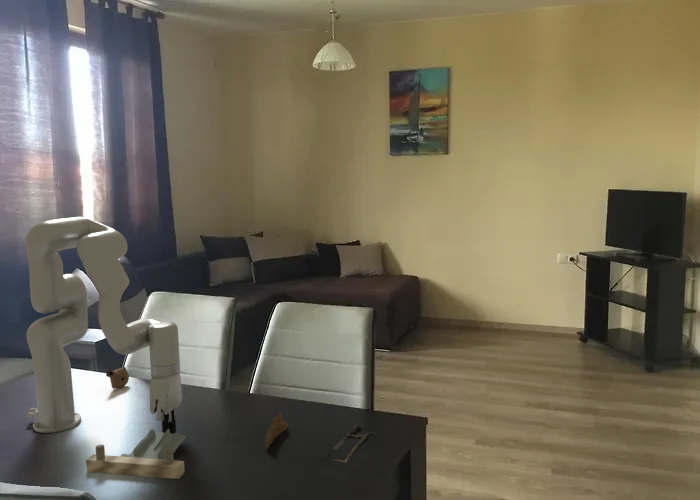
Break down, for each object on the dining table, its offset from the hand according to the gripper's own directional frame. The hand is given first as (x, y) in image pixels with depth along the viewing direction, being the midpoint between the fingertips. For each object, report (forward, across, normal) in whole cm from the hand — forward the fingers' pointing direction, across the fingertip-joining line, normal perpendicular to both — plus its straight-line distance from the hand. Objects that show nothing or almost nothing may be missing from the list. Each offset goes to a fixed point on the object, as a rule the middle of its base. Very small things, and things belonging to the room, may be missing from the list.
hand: (169, 433), depth 172 cm
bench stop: (+2, +18, 0) cm, 18 cm away
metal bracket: (+2, +9, +1) cm, 9 cm away
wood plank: (+2, -5, +28) cm, 29 cm away
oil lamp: (+2, -33, -35) cm, 49 cm away
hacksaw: (+2, -3, +50) cm, 50 cm away
